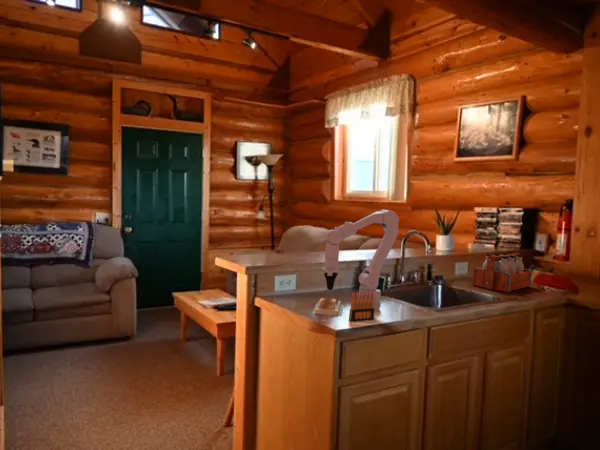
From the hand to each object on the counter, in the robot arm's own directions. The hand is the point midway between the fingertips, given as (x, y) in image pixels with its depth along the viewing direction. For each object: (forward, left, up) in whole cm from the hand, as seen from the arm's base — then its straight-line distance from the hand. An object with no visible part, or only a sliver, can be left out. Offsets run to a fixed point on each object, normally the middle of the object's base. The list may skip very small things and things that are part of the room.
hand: (330, 289), depth 204 cm
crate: (0, +8, -8) cm, 11 cm away
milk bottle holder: (-94, -85, -9) cm, 127 cm away
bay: (0, +3, -8) cm, 9 cm away
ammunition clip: (-14, +15, -8) cm, 22 cm away
